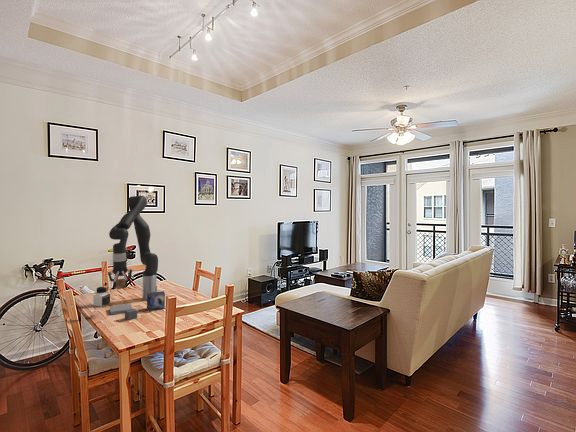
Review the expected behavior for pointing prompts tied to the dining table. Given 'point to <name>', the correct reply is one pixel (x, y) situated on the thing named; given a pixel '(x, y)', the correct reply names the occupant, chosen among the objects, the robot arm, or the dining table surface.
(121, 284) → the walnut cube
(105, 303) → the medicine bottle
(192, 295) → the dining table surface
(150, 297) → the small box
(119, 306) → the slate coaster
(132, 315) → the charcoal block
